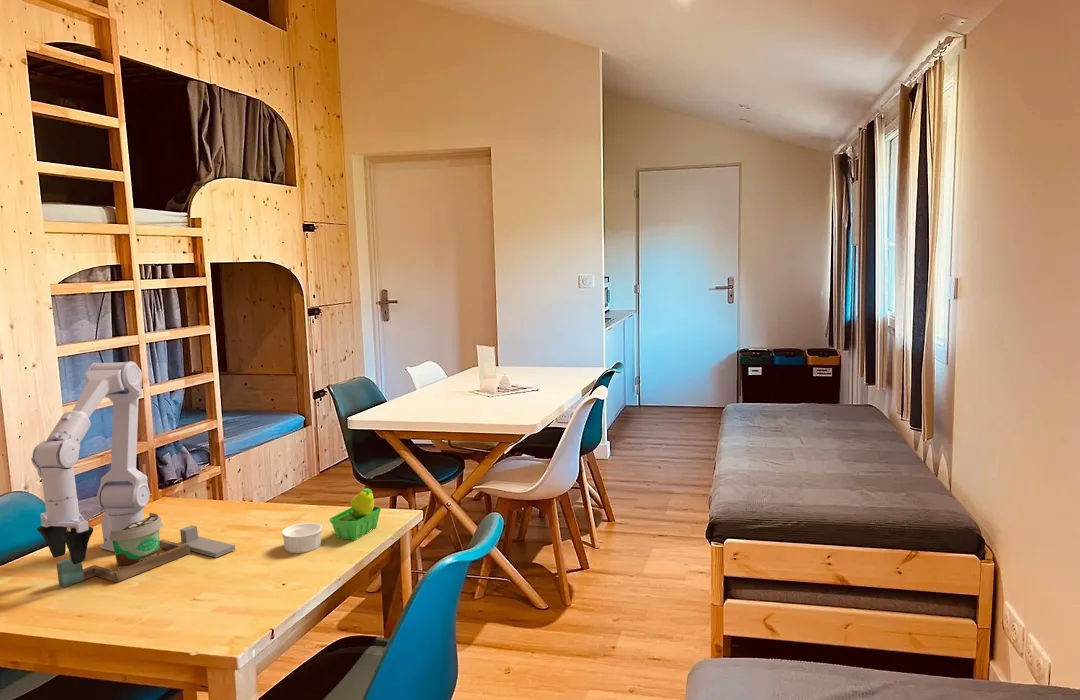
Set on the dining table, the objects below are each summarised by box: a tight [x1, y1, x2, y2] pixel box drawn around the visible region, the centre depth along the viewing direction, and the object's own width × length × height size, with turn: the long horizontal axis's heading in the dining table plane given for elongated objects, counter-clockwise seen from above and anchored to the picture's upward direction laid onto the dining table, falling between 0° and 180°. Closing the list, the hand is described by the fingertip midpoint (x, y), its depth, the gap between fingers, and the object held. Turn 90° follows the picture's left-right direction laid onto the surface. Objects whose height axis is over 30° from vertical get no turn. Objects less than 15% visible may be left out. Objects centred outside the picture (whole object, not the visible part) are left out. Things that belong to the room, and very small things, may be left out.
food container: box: [110, 512, 163, 570], centre depth 166 cm, size 12×6×10 cm, turn 166°
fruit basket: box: [329, 488, 382, 541], centre depth 181 cm, size 11×9×11 cm
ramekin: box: [281, 522, 323, 554], centre depth 174 cm, size 9×9×4 cm
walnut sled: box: [55, 539, 191, 588], centre depth 165 cm, size 10×24×5 cm, turn 150°
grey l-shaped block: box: [177, 525, 236, 558], centre depth 175 cm, size 14×5×4 cm, turn 60°
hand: (69, 559), depth 158 cm, fingers open, 7 cm apart
